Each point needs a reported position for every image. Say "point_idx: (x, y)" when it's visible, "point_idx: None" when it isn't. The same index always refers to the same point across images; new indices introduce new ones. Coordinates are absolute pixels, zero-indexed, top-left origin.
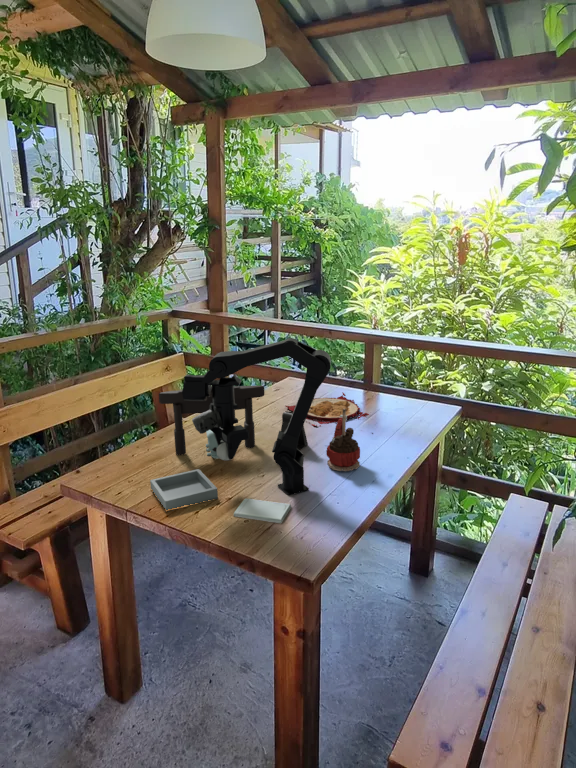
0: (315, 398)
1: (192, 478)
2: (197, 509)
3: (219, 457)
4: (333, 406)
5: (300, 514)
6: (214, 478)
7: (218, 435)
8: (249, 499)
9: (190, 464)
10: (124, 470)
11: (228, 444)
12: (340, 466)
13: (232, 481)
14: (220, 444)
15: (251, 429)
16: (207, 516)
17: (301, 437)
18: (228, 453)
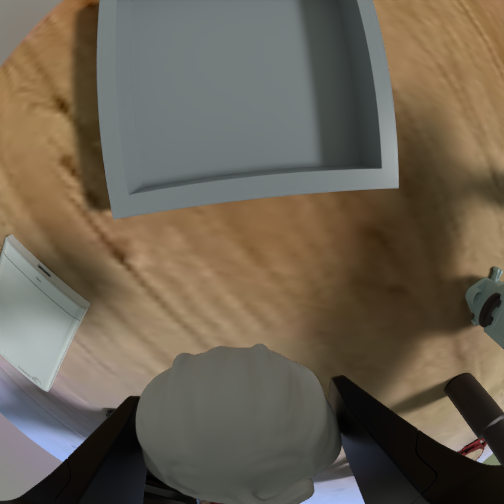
0: (475, 460)
1: (362, 140)
2: (79, 107)
3: (208, 351)
4: None
5: (24, 383)
6: (342, 244)
7: (402, 495)
8: (69, 317)
9: (481, 193)
10: (488, 9)
11: (21, 501)
12: (213, 502)
13: (276, 307)
14: (269, 462)
15: (472, 426)
16: (26, 143)
17: None
18: (91, 434)
